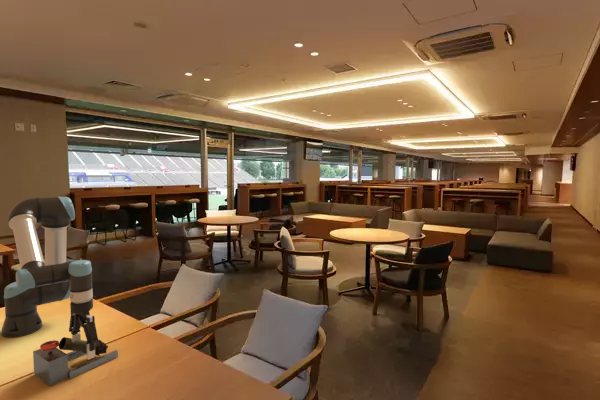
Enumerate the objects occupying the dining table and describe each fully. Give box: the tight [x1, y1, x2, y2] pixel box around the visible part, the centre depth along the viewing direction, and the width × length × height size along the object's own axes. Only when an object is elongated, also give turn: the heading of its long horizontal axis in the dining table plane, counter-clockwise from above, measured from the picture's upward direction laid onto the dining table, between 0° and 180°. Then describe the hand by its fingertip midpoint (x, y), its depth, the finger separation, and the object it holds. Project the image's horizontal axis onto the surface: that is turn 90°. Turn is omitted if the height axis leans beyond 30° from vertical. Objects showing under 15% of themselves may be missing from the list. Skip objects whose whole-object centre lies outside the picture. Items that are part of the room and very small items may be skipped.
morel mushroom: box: [58, 336, 109, 357], centre depth 137 cm, size 18×7×6 cm
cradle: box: [32, 340, 119, 387], centre depth 134 cm, size 15×24×12 cm, turn 148°
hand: (83, 353), depth 137 cm, fingers open, 10 cm apart
